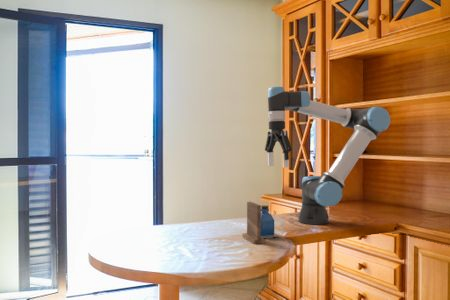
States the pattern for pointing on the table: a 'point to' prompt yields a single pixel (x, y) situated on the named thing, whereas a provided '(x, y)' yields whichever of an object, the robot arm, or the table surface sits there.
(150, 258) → the table surface
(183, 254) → the table surface
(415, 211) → the table surface
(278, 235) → the slate tile
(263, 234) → the perfume bottle
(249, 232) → the walnut screen
